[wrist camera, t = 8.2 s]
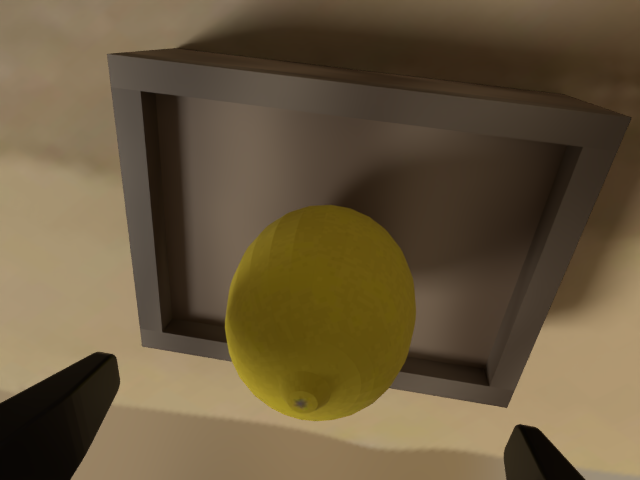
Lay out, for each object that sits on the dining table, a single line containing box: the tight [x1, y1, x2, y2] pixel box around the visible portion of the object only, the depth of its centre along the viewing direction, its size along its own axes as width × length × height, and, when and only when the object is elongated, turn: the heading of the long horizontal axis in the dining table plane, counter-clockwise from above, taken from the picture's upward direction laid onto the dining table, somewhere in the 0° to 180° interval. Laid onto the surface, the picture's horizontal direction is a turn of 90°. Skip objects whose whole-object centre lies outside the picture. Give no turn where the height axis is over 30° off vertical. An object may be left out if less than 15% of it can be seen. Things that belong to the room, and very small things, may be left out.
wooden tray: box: [107, 48, 631, 408], centre depth 18 cm, size 16×12×5 cm
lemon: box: [225, 205, 416, 421], centre depth 13 cm, size 6×6×8 cm
